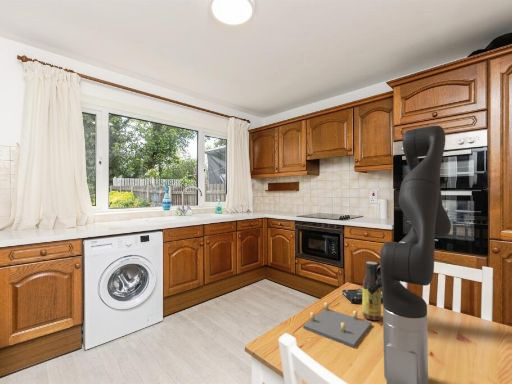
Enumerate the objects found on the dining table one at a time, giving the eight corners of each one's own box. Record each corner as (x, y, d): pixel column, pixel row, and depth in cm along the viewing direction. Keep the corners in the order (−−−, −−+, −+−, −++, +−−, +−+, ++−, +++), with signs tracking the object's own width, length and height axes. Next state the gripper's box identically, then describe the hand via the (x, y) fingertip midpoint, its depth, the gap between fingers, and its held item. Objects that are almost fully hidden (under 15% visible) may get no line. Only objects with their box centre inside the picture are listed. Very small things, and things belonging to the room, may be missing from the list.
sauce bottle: (370, 322, 88) (369, 265, 89) (358, 314, 94) (357, 261, 95) (385, 319, 90) (384, 264, 90) (373, 312, 96) (372, 260, 96)
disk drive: (352, 305, 104) (386, 304, 105) (351, 298, 104) (386, 297, 105) (342, 295, 114) (373, 294, 115) (341, 289, 114) (373, 288, 115)
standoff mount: (353, 347, 74) (353, 335, 74) (303, 328, 85) (303, 318, 85) (371, 325, 87) (371, 315, 87) (325, 310, 98) (325, 301, 98)
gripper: (383, 245, 99) (353, 275, 100) (401, 254, 85) (365, 288, 86) (398, 259, 98) (367, 289, 100) (418, 270, 84) (381, 304, 85)
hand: (366, 288), depth 93 cm, fingers closed on sauce bottle, 6 cm apart
